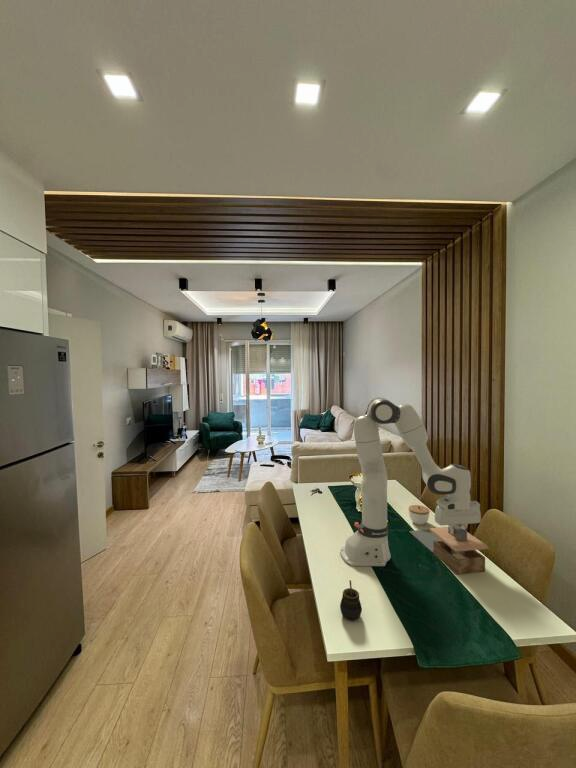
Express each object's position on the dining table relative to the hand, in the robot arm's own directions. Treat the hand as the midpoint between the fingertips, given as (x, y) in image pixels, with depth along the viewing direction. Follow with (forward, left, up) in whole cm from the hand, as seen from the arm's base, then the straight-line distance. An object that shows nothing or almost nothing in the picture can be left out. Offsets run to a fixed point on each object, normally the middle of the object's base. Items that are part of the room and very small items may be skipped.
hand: (457, 533), depth 143 cm
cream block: (-2, -4, -12) cm, 13 cm away
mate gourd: (-57, -22, -13) cm, 63 cm away
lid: (0, 0, -3) cm, 3 cm away
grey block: (+3, +3, -12) cm, 13 cm away
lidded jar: (+5, +38, -13) cm, 40 cm away
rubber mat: (+3, +19, -13) cm, 23 cm away
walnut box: (0, 0, -13) cm, 13 cm away
